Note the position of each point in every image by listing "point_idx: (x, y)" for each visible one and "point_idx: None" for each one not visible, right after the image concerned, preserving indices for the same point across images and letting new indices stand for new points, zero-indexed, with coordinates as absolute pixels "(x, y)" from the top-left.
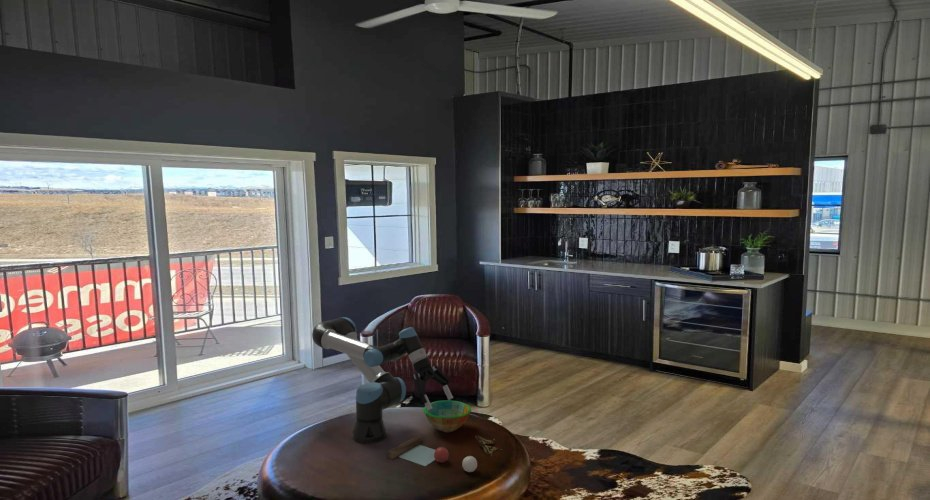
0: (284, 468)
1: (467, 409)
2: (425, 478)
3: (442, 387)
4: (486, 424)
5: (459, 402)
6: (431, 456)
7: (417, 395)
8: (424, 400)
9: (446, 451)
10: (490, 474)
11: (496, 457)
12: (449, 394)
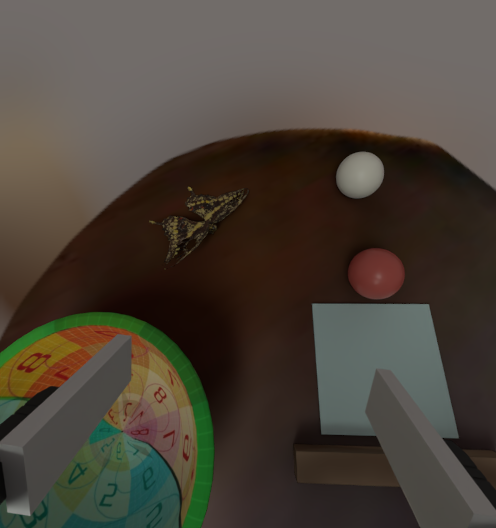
0: None
1: (25, 357)
2: (477, 258)
3: (36, 507)
4: (30, 316)
5: None
6: (363, 327)
7: None
8: (472, 466)
9: (374, 249)
10: (328, 146)
11: (240, 177)
12: (109, 368)
